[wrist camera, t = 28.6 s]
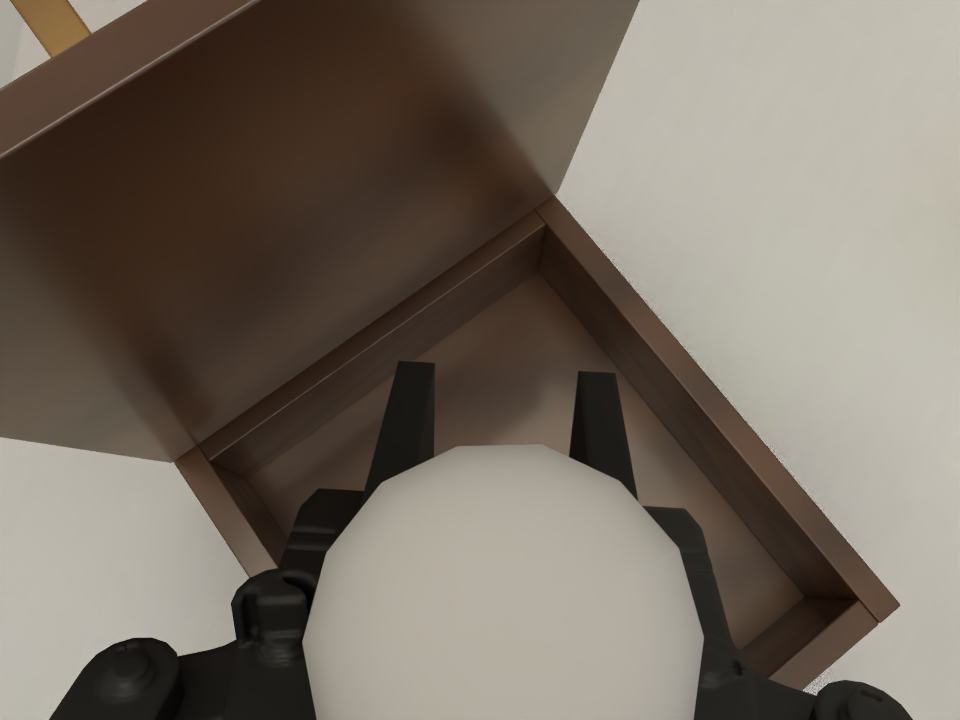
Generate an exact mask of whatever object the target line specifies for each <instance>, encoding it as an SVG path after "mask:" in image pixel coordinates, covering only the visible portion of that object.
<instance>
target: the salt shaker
mask: <svg viewBox="0 0 960 720" xmlns="http://www.w3.org/2000/svg"><path fill="white" fill-rule="evenodd" d="M703 641H704V636H703V632H702V628H701V625H700V621H699V618H698V614H697V611H696V607H695V604H694V600H693V597H692V593H691V590H690V586H689V583H688V579H687V576H686V572H685V569H684V565H683V561H682V558H681V554H680V551H679V548H678V547H677V546H676V544H675V543H674V542H673V541H672V540H671V539H670V538H669V536H668V535H667V534H666V533H665V532H664V531H663V530H662V528H661V527H660V526H659V525H658V524H657V523H656V522H655V521H654V519H653V518H652V517H651V516H650V515H649V514H648V513H647V511H646V510H645V509H644V508H643V507H642V506H641V505H640V503H639V502H638V501H637V500H636V499H635V498H634V497H633V496H632V494H631V493H630V492H629V491H628V490H627V489H626V488H625V486H624V485H623V484H622V483H621V482H620V481H619V480H616V479H614V478H612V477H610V476H608V475H606V474H604V473H602V472H599V471H597V470H595V469H593V468H591V467H589V466H587V465H585V464H583V463H580V462H578V461H576V460H574V459H572V458H570V457H568V456H566V455H563V454H561V453H559V452H557V451H555V450H553V449H551V448H549V447H546V446H544V445H542V444H527V445H487V446H457V447H455V448H453V449H451V450H449V451H446V452H444V453H442V454H440V455H438V456H436V457H434V458H432V459H430V460H428V461H426V462H423V463H421V464H419V465H417V466H415V467H413V468H411V469H409V470H407V471H405V472H403V473H400V474H398V475H396V476H394V477H392V478H390V479H388V480H386V481H384V482H382V483H381V484H380V485H379V486H378V488H377V489H376V490H375V491H374V493H373V494H372V495H371V497H370V498H369V499H368V500H367V502H366V503H365V504H364V505H363V507H362V508H361V509H360V511H359V512H358V513H357V514H356V516H355V517H354V518H353V519H352V521H351V522H350V523H349V525H348V526H347V527H346V528H345V530H344V531H343V532H342V533H341V535H340V536H339V537H338V539H337V540H336V541H335V542H334V544H333V545H332V546H331V547H330V549H329V550H328V551H327V553H326V555H325V559H324V563H323V567H322V570H321V574H320V578H319V581H318V585H317V589H316V593H315V596H314V600H313V604H312V608H311V611H310V615H309V619H308V622H307V626H306V630H305V634H304V637H303V641H302V644H303V649H304V655H305V660H306V665H307V671H308V676H309V681H310V687H311V692H312V697H313V703H314V708H315V713H316V718H317V720H694V712H695V704H696V696H697V688H698V681H699V673H700V665H701V657H702V649H703Z"/></svg>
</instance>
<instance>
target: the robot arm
mask: <svg viewBox="0 0 960 720" xmlns="http://www.w3.org/2000/svg"><path fill="white" fill-rule="evenodd" d="M434 425H435V363H430V362H412V361H398V365H397V369H396V372H395V376H394V380H393V384H392V388H391V391H390V395H389V399H388V403H387V407H386V410H385V414H384V418H383V422H382V426H381V429H380V433H379V437H378V441H377V445H376V448H375V452H374V456H373V460H372V464H371V467H370V471H369V475H368V479H367V483H366V486H365V490H364V491H355V490H338V489H322V488H318V489H317V490H316V491H315V492H314V493H313V494H312V495H311V496H310V497H309V498H308V499H307V500H306V501H305V502H304V503H303V504H302V505H301V506H300V508H299V511H298V514H297V517H296V519H295V522H294V525H293V530H292V532H291V533H290V536H289V539H288V542H287V545H286V549H285V550H284V553H283V556H282V558H281V561H280V564H279V567H278V568H275V569H270V570H265V571H263V572H261V573H259V574H257V575H255V576H253V577H251V578H249V579H248V580H247V581H246V582H245V583H244V584H243V585H242V586H241V587H239V588H238V589H237V591H236V593H235V595H234V598H233V600H232V602H231V607H232V613H233V620H234V626H235V633H236V639H237V640H235V641H233V642H231V643H229V644H227V645H225V646H221V647H218V648H215V649H211V650H207V651H202V652H197V653H192V654H187V655H183V656H178V657H177V653H176V652H175V651H174V650H173V649H172V648H171V647H170V646H169V645H168V644H167V643H166V642H163V641H160V640H157V639H154V638H132V639H129V640H125V641H122V642H119V643H115V644H113V645H111V646H110V647H108V648H106V649H105V650H103V651H101V652H100V653H98V654H97V655H96V656H95V657H94V658H93V659H92V660H91V661H90V662H89V663H88V664H87V665H86V666H85V667H84V668H83V670H82V671H81V673H80V674H79V676H78V677H77V679H76V680H75V682H74V683H73V685H72V686H71V688H70V689H69V691H68V692H67V694H66V695H65V697H64V698H63V700H62V701H61V703H60V704H59V706H58V707H57V709H56V710H55V712H54V713H53V714H52V716H51V717H50V719H49V720H317V718H316V713H315V708H314V703H313V697H312V692H311V687H310V681H309V676H308V671H307V665H306V660H305V655H304V649H303V644H302V641H303V637H304V634H305V630H306V626H307V622H308V619H309V615H310V611H311V608H312V604H313V600H314V596H315V593H316V589H317V585H318V581H319V578H320V574H321V570H322V567H323V563H324V559H325V555H326V553H327V551H328V550H329V549H330V547H331V546H332V545H333V544H334V542H335V541H336V540H337V539H338V537H339V536H340V535H341V533H342V532H343V531H344V530H345V528H346V527H347V526H348V525H349V523H350V522H351V521H352V519H353V518H354V517H355V516H356V514H357V513H358V512H359V511H360V509H361V508H362V507H363V505H364V504H365V503H366V502H367V500H368V499H369V498H370V497H371V495H372V494H373V493H374V491H375V490H376V489H377V488H378V486H379V485H380V484H381V483H382V482H384V481H386V480H388V479H390V478H392V477H394V476H396V475H398V474H400V473H403V472H405V471H407V470H409V469H411V468H413V467H415V466H417V465H419V464H421V463H423V462H426V461H428V460H430V459H432V458H434ZM569 457H570V458H572V459H574V460H576V461H578V462H580V463H583V464H585V465H587V466H589V467H591V468H593V469H595V470H597V471H599V472H602V473H604V474H606V475H608V476H610V477H612V478H614V479H616V480H619V481H620V482H621V483H622V484H623V485H624V486H625V488H626V489H627V490H628V491H629V492H630V493H631V494H632V496H633V497H634V498H635V499H636V500H637V501H638V496H637V490H636V485H635V479H634V474H633V468H632V463H631V457H630V451H629V446H628V440H627V435H626V429H625V423H624V418H623V412H622V407H621V401H620V396H619V390H618V384H617V379H616V373H608V372H590V371H578V379H577V388H576V397H575V406H574V415H573V424H572V433H571V442H570V451H569ZM642 507H643V508H644V509H645V510H646V511H647V513H648V514H649V515H650V516H651V517H652V518H653V519H654V521H655V522H656V523H657V524H658V525H659V526H660V527H661V528H662V530H663V531H664V532H665V533H666V534H667V535H668V536H669V538H670V539H671V540H672V541H673V542H674V543H675V544H676V546H677V547H678V548H679V551H680V554H681V558H682V561H683V565H684V569H685V572H686V576H687V579H688V583H689V586H690V590H691V593H692V597H693V600H694V604H695V607H696V611H697V614H698V618H699V621H700V625H701V628H702V632H703V636H704V641H703V649H702V657H701V665H700V673H699V681H698V688H697V696H696V704H695V712H694V720H913V719H912V718H911V717H910V715H909V714H908V713H907V712H906V710H905V709H904V708H903V706H902V705H901V704H900V703H898V702H897V701H896V700H895V699H893V698H892V697H891V696H889V695H888V694H887V693H885V692H884V691H882V690H880V689H877V688H875V687H873V686H870V685H868V684H866V683H862V682H855V681H848V680H843V681H838V682H833V683H829V684H827V685H826V686H825V687H824V688H822V689H821V690H820V691H819V692H818V694H817V696H815V695H812V694H809V693H806V692H803V691H800V690H797V689H794V688H791V687H788V686H785V685H782V684H780V683H778V682H775V681H773V680H771V679H768V678H767V677H765V676H764V675H762V674H760V673H759V672H757V671H756V670H754V669H753V668H752V666H751V663H750V661H749V660H748V659H747V658H746V657H745V655H744V654H743V653H742V652H741V651H740V649H738V648H737V647H735V645H734V643H733V640H732V638H731V634H730V630H729V627H728V623H727V619H726V615H725V612H724V608H723V604H722V601H721V597H720V593H719V589H718V586H717V582H716V578H715V575H714V574H713V567H712V563H711V560H710V556H709V555H708V549H707V545H706V541H705V537H704V534H703V530H702V528H701V527H700V526H699V524H698V523H697V522H696V521H695V520H694V518H693V517H692V516H691V515H690V514H689V512H688V511H687V510H686V509H685V508H671V507H654V506H642Z"/></svg>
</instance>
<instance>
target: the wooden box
mask: <svg viewBox="0 0 960 720" xmlns="http://www.w3.org/2000/svg"><path fill="white" fill-rule="evenodd" d="M398 361H412V362H430V363H435V425H434V457H436V456H438V455H440V454H442V453H444V452H446V451H449V450H451V449H453V448H455V447H457V446H487V445H527V444H542V445H544V446H546V447H549V448H551V449H553V450H555V451H557V452H559V453H561V454H563V455H566V456H568V457H569V451H570V442H571V433H572V424H573V415H574V406H575V397H576V388H577V379H578V371H590V372H608V373H616V379H617V384H618V390H619V396H620V401H621V407H622V412H623V418H624V423H625V429H626V435H627V440H628V446H629V451H630V457H631V463H632V468H633V474H634V479H635V485H636V490H637V496H638V502H639V503H640V505H641V506H654V507H671V508H685V509H686V510H687V511H688V512H689V514H690V515H691V516H692V517H693V518H694V520H695V521H696V522H697V523H698V524H699V526H700V527H701V528H702V530H703V534H704V537H705V541H706V545H707V549H708V555H709V556H710V560H711V563H712V567H713V574H714V575H715V578H716V582H717V586H718V589H719V593H720V597H721V601H722V604H723V608H724V612H725V615H726V619H727V623H728V627H729V630H730V634H731V638H732V640H733V643H734V645H735V647H737V648H738V649H740V651H741V652H742V653H743V654H744V655H745V657H746V658H747V659H748V660H749V661H750V663H751V666H752V668H753V669H754V670H756V671H757V672H759V673H760V674H762V675H764V676H765V677H767V678H768V679H771V680H773V681H775V682H778V683H780V684H782V685H785V686H788V687H791V688H794V689H797V690H800V691H802V690H803V689H804V688H805V687H806V686H807V685H809V684H810V683H811V682H812V681H813V680H814V679H816V678H817V677H818V676H819V675H820V674H821V673H823V672H824V671H825V670H826V669H827V668H828V667H830V666H831V665H832V664H833V663H834V662H835V661H837V660H838V659H839V658H840V657H841V656H842V655H844V654H845V653H846V652H847V651H848V650H849V649H850V648H852V647H853V646H854V645H855V644H856V643H857V642H859V641H860V640H861V639H862V638H863V637H864V636H866V635H867V634H868V633H869V632H870V631H871V630H873V629H874V628H875V627H876V626H877V625H878V623H881V622H882V621H883V620H884V619H886V618H887V617H888V616H889V615H890V614H891V613H893V612H894V611H895V610H896V609H897V608H898V607H899V606H900V603H899V602H898V601H897V600H896V599H895V597H894V596H893V595H892V594H891V593H890V592H889V590H888V589H887V588H886V587H885V586H884V584H883V583H882V582H881V581H880V580H879V579H878V577H877V576H876V575H875V574H874V573H873V571H872V570H871V569H870V568H869V567H868V566H867V564H866V563H865V562H864V561H863V560H862V558H861V557H860V556H859V555H858V554H857V552H856V551H855V550H854V549H853V548H852V547H851V545H850V544H849V543H848V542H847V541H846V539H845V538H844V537H843V536H842V535H841V534H840V532H839V531H838V530H837V529H836V528H835V526H834V525H833V524H832V523H831V522H830V521H829V519H828V518H827V517H826V516H825V515H824V513H823V512H822V511H821V510H820V509H819V508H818V506H817V505H816V504H815V503H814V502H813V500H812V499H811V498H810V497H809V496H808V495H807V493H806V492H805V491H804V490H803V489H802V487H801V486H800V485H799V484H798V483H797V482H796V480H795V479H794V478H793V477H792V476H791V474H790V473H789V472H788V471H787V470H786V468H785V467H784V466H783V465H782V464H781V463H780V461H779V460H778V459H777V458H776V457H775V455H774V454H773V453H772V452H771V451H770V450H769V448H768V447H767V446H766V445H765V444H764V442H763V441H762V440H761V439H760V438H759V437H758V435H757V434H756V433H755V432H754V431H753V429H752V428H751V427H750V426H749V425H748V424H747V422H746V421H745V420H744V419H743V418H742V416H741V415H740V414H739V413H738V412H737V411H736V409H735V408H734V407H733V406H732V405H731V403H730V402H729V401H728V400H727V399H726V397H725V396H724V395H723V394H722V393H721V392H720V390H719V389H718V388H717V387H716V386H715V384H714V383H713V382H712V381H711V380H710V379H709V377H708V376H707V375H706V374H705V373H704V371H703V370H702V369H701V368H700V367H699V366H698V364H697V363H696V362H695V361H694V360H693V358H692V357H691V356H690V355H689V354H688V353H687V351H686V350H685V349H684V348H683V347H682V345H681V344H680V343H679V342H678V341H677V340H676V338H675V337H674V336H673V335H672V334H671V332H670V331H669V330H668V329H667V328H666V326H665V325H664V324H663V323H662V322H661V321H660V319H659V318H658V317H657V316H656V315H655V313H654V312H653V311H652V310H651V309H650V308H649V306H648V305H647V304H646V303H645V302H644V300H643V299H642V298H641V297H640V296H639V295H638V293H637V292H636V291H635V290H634V289H633V287H632V286H631V285H630V284H629V283H628V282H627V280H626V279H625V278H624V277H623V276H622V274H621V273H620V272H619V271H618V270H617V269H616V267H615V266H614V265H613V264H612V263H611V261H610V260H609V259H608V258H607V257H606V255H605V254H604V253H603V252H602V251H601V250H600V248H599V247H598V246H597V245H596V244H595V242H594V241H593V240H592V239H591V238H590V237H589V235H588V234H587V233H586V232H585V231H584V229H583V228H582V227H581V226H580V225H579V224H578V222H577V221H576V220H575V219H574V218H573V216H572V215H571V214H570V213H569V212H568V211H567V209H566V208H565V207H564V206H563V205H562V203H561V202H560V201H559V200H558V199H557V198H556V196H555V195H554V196H552V197H551V198H549V199H548V200H546V201H545V202H544V203H542V204H541V205H539V206H538V207H536V208H535V209H534V210H532V211H531V212H529V213H528V214H526V215H525V216H523V217H522V218H521V219H519V220H518V221H516V222H515V223H513V224H512V225H511V226H509V227H508V228H506V229H505V230H503V231H502V232H501V233H499V234H498V235H496V236H495V237H493V238H492V239H491V240H489V241H488V242H486V243H485V244H483V245H482V246H481V247H479V248H478V249H476V250H475V251H473V252H472V253H471V254H469V255H468V256H466V257H465V258H463V259H462V260H461V261H459V262H458V263H456V264H455V265H453V266H452V267H451V268H449V269H448V270H446V271H445V272H443V273H442V274H441V275H439V276H438V277H436V278H435V279H433V280H432V281H431V282H429V283H428V284H426V285H425V286H423V287H422V288H421V289H419V290H418V291H416V292H415V293H413V294H412V295H411V296H409V297H408V298H406V299H405V300H403V301H402V302H401V303H399V304H398V305H396V306H395V307H393V308H392V309H391V310H389V311H388V312H386V313H385V314H383V315H382V316H381V317H379V318H378V319H376V320H375V321H373V322H372V323H371V324H369V325H368V326H366V327H365V328H363V329H362V330H361V331H359V332H358V333H356V334H355V335H353V336H352V337H351V338H349V339H348V340H346V341H345V342H343V343H342V344H341V345H339V346H338V347H336V348H335V349H333V350H332V351H331V352H329V353H328V354H326V355H325V356H323V357H322V358H321V359H319V360H318V361H316V362H315V363H313V364H312V365H311V366H309V367H308V368H306V369H305V370H303V371H302V372H301V373H299V374H298V375H296V376H295V377H293V378H292V379H291V380H289V381H288V382H286V383H285V384H283V385H282V386H281V387H279V388H278V389H276V390H275V391H273V392H272V393H271V394H269V395H268V396H266V397H265V398H263V399H262V400H261V401H259V402H258V403H256V404H255V405H253V406H252V407H251V408H249V409H248V410H246V411H245V412H243V413H242V414H241V415H239V416H238V417H236V418H235V419H233V420H232V421H231V422H229V423H228V424H226V425H225V426H223V427H222V428H221V429H219V430H218V431H216V432H215V433H213V434H212V435H211V436H209V437H208V438H206V439H205V440H203V441H202V442H201V443H199V444H198V445H196V446H195V447H193V448H192V449H191V450H189V451H188V452H186V453H185V454H183V455H182V456H181V457H179V458H178V459H176V460H175V461H173V462H174V463H175V465H176V466H177V468H178V469H179V471H180V473H181V474H182V476H183V477H184V479H185V480H186V482H187V483H188V485H189V486H190V488H191V489H192V491H193V492H194V494H195V495H196V497H197V499H198V500H199V502H200V503H201V505H202V506H203V508H204V509H205V511H206V512H207V514H208V515H209V517H210V518H211V520H212V521H213V523H214V524H215V526H216V528H217V529H218V531H219V532H220V534H221V535H222V537H223V538H224V540H225V541H226V543H227V544H228V546H229V547H230V549H231V550H232V552H233V554H234V555H235V557H236V558H237V560H238V561H239V563H240V564H241V566H242V567H243V569H244V570H245V572H246V573H247V575H248V576H249V578H251V577H253V576H255V575H257V574H259V573H261V572H263V571H265V570H270V569H275V568H278V567H279V564H280V561H281V558H282V556H283V553H284V550H285V549H286V545H287V542H288V539H289V536H290V533H291V532H292V530H293V525H294V522H295V519H296V517H297V514H298V511H299V508H300V506H301V505H302V504H303V503H304V502H305V501H306V500H307V499H308V498H309V497H310V496H311V495H312V494H313V493H314V492H315V491H316V490H317V489H318V488H322V489H338V490H355V491H364V490H365V486H366V483H367V479H368V475H369V471H370V467H371V464H372V460H373V456H374V452H375V448H376V445H377V441H378V437H379V433H380V429H381V426H382V422H383V418H384V414H385V410H386V407H387V403H388V399H389V395H390V391H391V388H392V384H393V380H394V376H395V372H396V369H397V365H398Z"/></svg>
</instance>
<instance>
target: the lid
mask: <svg viewBox="0 0 960 720" xmlns="http://www.w3.org/2000/svg"><path fill="white" fill-rule="evenodd" d="M10 1H11V2H12V4H13V5H14V7H15V8H16V9H17V11H18V12H19V14H20V15H21V16H22V18H23V19H24V21H25V22H26V23H27V25H28V26H29V28H30V29H31V30H32V32H33V33H34V35H35V36H36V37H37V39H38V40H39V41H40V43H41V44H42V46H43V47H44V48H45V50H46V51H47V53H48V54H49V55H50V57H51V59H49V60H48V61H46V62H44V63H43V64H41V65H39V66H38V67H36V68H34V69H33V70H31V71H29V72H28V73H26V74H24V75H23V76H21V77H19V78H18V79H16V80H14V81H13V82H11V83H9V84H8V85H6V86H4V87H3V88H1V89H0V437H3V438H10V439H16V440H23V441H30V442H36V443H43V444H49V445H56V446H63V447H69V448H76V449H83V450H89V451H96V452H103V453H109V454H116V455H122V456H129V457H136V458H142V459H149V460H156V461H162V462H169V463H172V462H173V461H175V460H176V459H178V458H179V457H181V456H182V455H183V454H185V453H186V452H188V451H189V450H191V449H192V448H193V447H195V446H196V445H198V444H199V443H201V442H202V441H203V440H205V439H206V438H208V437H209V436H211V435H212V434H213V433H215V432H216V431H218V430H219V429H221V428H222V427H223V426H225V425H226V424H228V423H229V422H231V421H232V420H233V419H235V418H236V417H238V416H239V415H241V414H242V413H243V412H245V411H246V410H248V409H249V408H251V407H252V406H253V405H255V404H256V403H258V402H259V401H261V400H262V399H263V398H265V397H266V396H268V395H269V394H271V393H272V392H273V391H275V390H276V389H278V388H279V387H281V386H282V385H283V384H285V383H286V382H288V381H289V380H291V379H292V378H293V377H295V376H296V375H298V374H299V373H301V372H302V371H303V370H305V369H306V368H308V367H309V366H311V365H312V364H313V363H315V362H316V361H318V360H319V359H321V358H322V357H323V356H325V355H326V354H328V353H329V352H331V351H332V350H333V349H335V348H336V347H338V346H339V345H341V344H342V343H343V342H345V341H346V340H348V339H349V338H351V337H352V336H353V335H355V334H356V333H358V332H359V331H361V330H362V329H363V328H365V327H366V326H368V325H369V324H371V323H372V322H373V321H375V320H376V319H378V318H379V317H381V316H382V315H383V314H385V313H386V312H388V311H389V310H391V309H392V308H393V307H395V306H396V305H398V304H399V303H401V302H402V301H403V300H405V299H406V298H408V297H409V296H411V295H412V294H413V293H415V292H416V291H418V290H419V289H421V288H422V287H423V286H425V285H426V284H428V283H429V282H431V281H432V280H433V279H435V278H436V277H438V276H439V275H441V274H442V273H443V272H445V271H446V270H448V269H449V268H451V267H452V266H453V265H455V264H456V263H458V262H459V261H461V260H462V259H463V258H465V257H466V256H468V255H469V254H471V253H472V252H473V251H475V250H476V249H478V248H479V247H481V246H482V245H483V244H485V243H486V242H488V241H489V240H491V239H492V238H493V237H495V236H496V235H498V234H499V233H501V232H502V231H503V230H505V229H506V228H508V227H509V226H511V225H512V224H513V223H515V222H516V221H518V220H519V219H521V218H522V217H523V216H525V215H526V214H528V213H529V212H531V211H532V210H534V209H535V208H536V207H538V206H539V205H541V204H542V203H544V202H545V201H546V200H548V199H549V198H551V197H552V196H554V195H555V194H556V193H557V192H558V190H559V188H560V186H561V183H562V181H563V179H564V176H565V174H566V172H567V169H568V167H569V165H570V162H571V160H572V158H573V155H574V153H575V151H576V148H577V146H578V144H579V141H580V139H581V137H582V134H583V132H584V129H585V127H586V125H587V122H588V120H589V118H590V115H591V113H592V111H593V108H594V106H595V104H596V101H597V99H598V97H599V94H600V92H601V90H602V87H603V85H604V83H605V80H606V78H607V76H608V73H609V71H610V69H611V66H612V64H613V62H614V59H615V57H616V55H617V52H618V50H619V48H620V45H621V43H622V41H623V38H624V36H625V33H626V31H627V29H628V26H629V24H630V22H631V19H632V17H633V15H634V12H635V10H636V8H637V5H638V3H639V1H640V0H147V1H146V2H144V3H142V4H141V5H139V6H137V7H136V8H134V9H132V10H131V11H129V12H127V13H126V14H124V15H122V16H121V17H119V18H118V19H116V20H114V21H113V22H111V23H109V24H108V25H106V26H104V27H103V28H101V29H99V30H98V31H96V32H94V33H93V34H92V33H91V32H90V30H89V29H88V28H87V26H86V25H85V23H84V22H83V21H82V19H81V18H80V17H79V15H78V14H77V12H76V11H75V10H74V8H73V7H72V5H71V4H70V3H69V1H68V0H10Z"/></svg>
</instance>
